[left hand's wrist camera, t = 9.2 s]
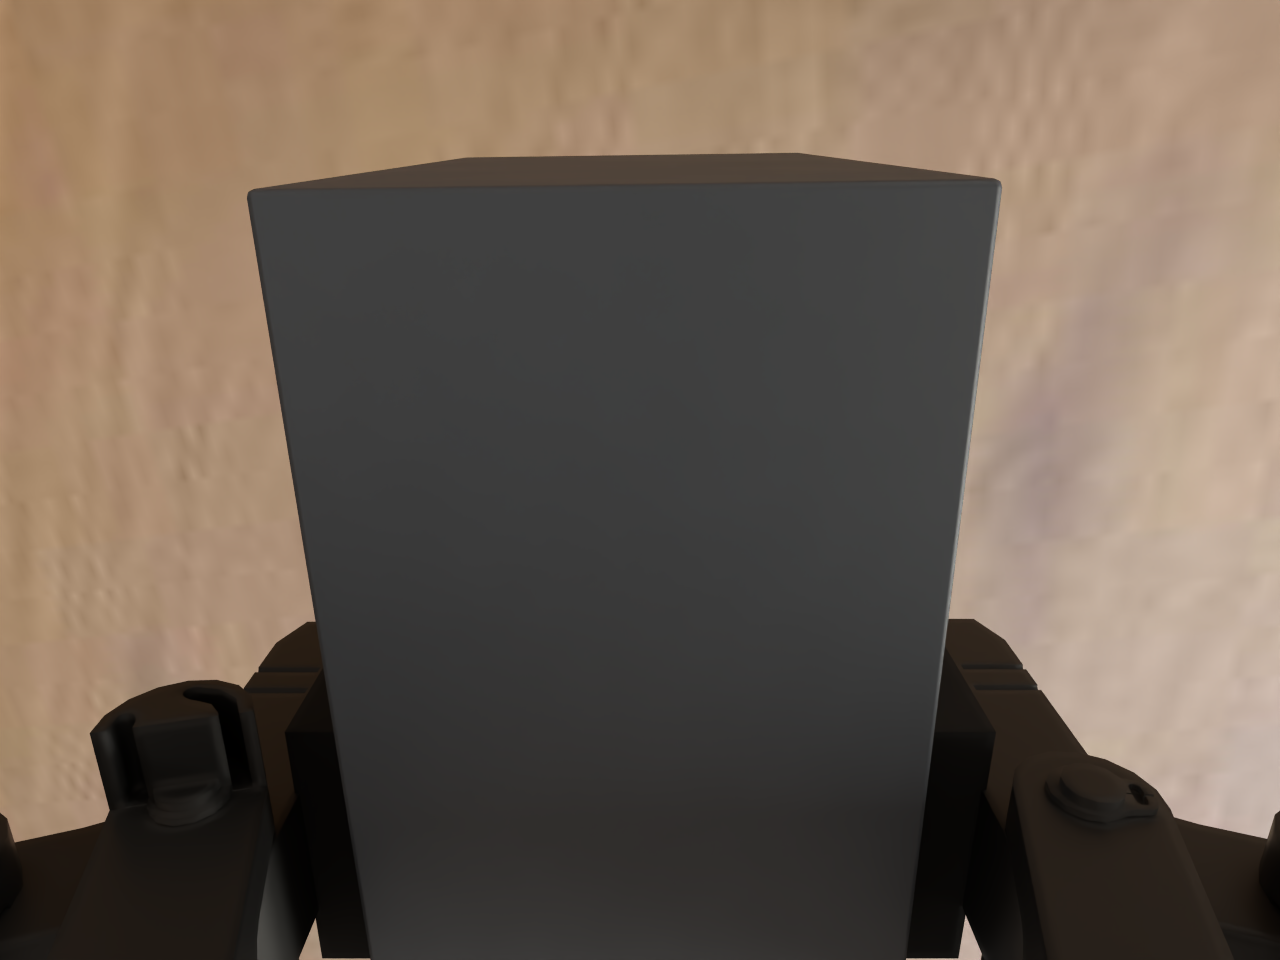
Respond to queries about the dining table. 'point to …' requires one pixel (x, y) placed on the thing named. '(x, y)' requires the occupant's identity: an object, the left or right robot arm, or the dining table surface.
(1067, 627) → the dining table surface
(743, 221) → the beam
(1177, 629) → the dining table surface
